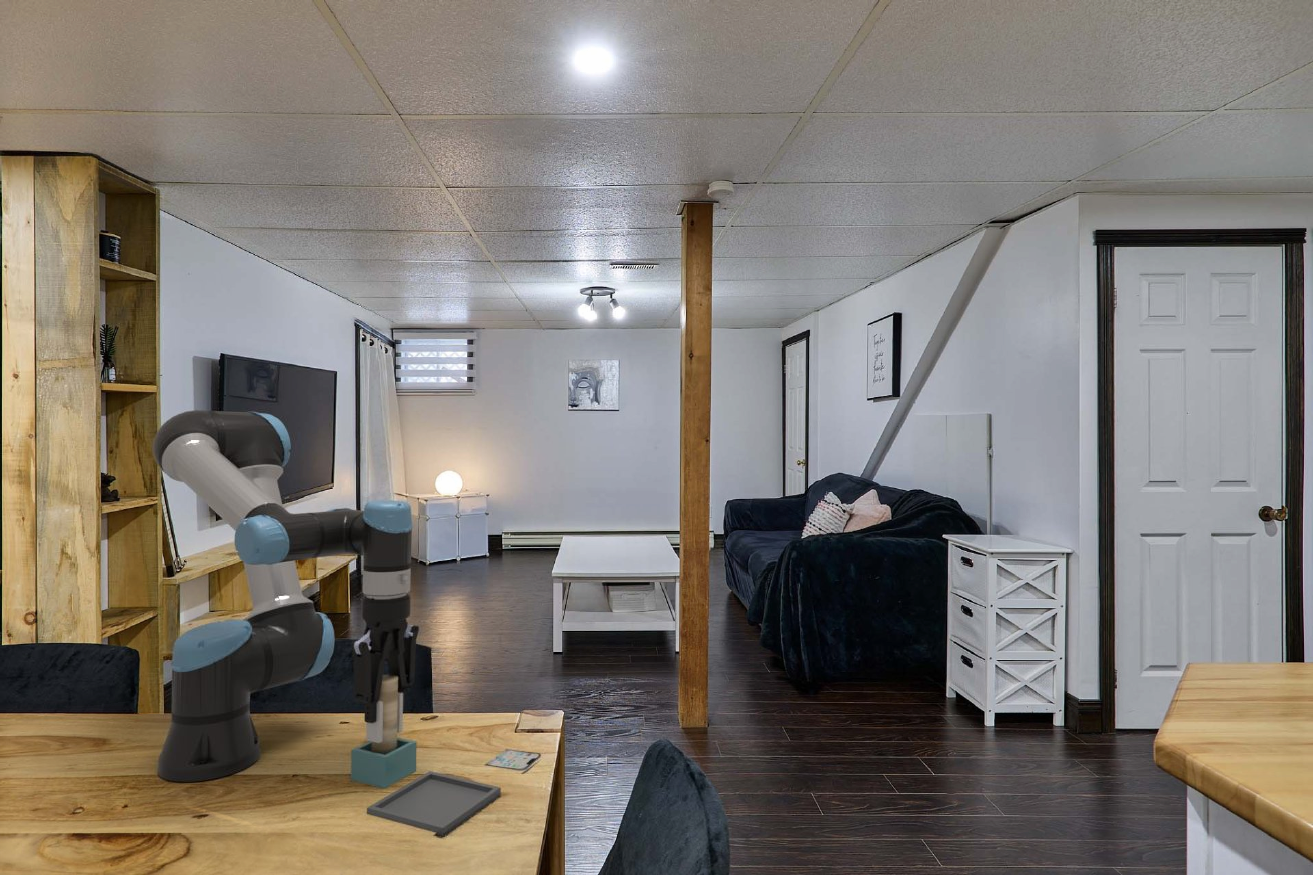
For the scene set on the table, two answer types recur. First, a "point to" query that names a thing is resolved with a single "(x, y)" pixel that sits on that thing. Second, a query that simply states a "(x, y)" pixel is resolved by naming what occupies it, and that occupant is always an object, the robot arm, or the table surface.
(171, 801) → the table surface
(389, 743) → the dowel
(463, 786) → the tray
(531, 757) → the smartphone
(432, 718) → the table surface
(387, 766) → the teal open box
